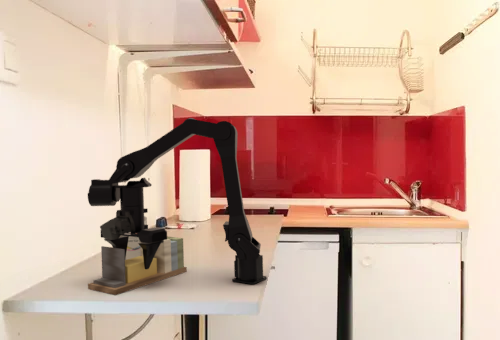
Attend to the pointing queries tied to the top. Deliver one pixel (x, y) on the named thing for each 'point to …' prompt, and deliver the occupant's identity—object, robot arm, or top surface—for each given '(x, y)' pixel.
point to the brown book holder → (167, 266)
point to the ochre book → (138, 269)
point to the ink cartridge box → (134, 245)
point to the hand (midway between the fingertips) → (134, 267)
